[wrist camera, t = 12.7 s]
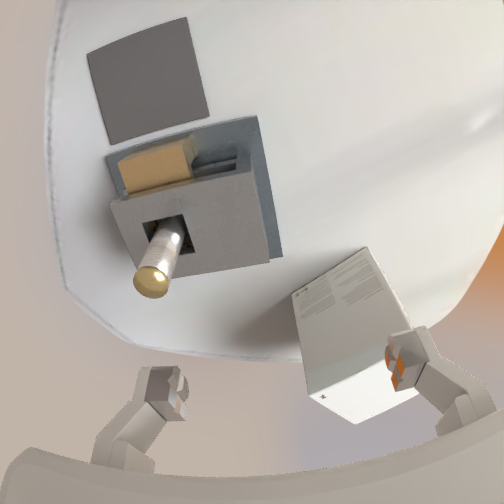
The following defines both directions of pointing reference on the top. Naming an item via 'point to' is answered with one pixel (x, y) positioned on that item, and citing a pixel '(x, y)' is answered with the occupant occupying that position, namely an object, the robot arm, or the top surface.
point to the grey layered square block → (199, 196)
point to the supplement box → (350, 337)
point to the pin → (160, 257)
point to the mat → (148, 81)
